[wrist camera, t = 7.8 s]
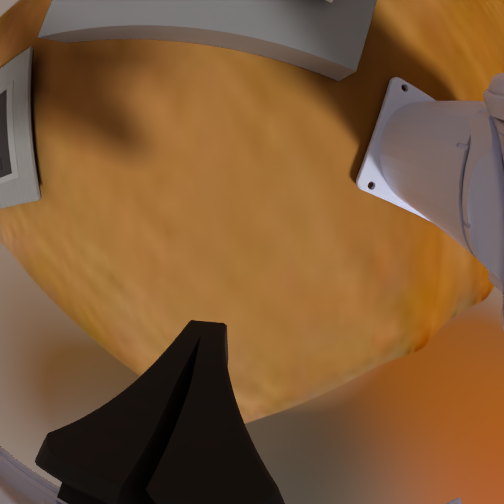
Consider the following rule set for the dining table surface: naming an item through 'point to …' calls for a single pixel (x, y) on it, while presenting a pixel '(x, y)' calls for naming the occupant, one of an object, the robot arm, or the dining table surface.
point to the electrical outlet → (17, 133)
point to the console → (227, 27)
